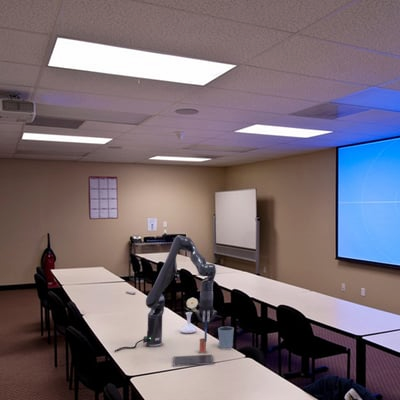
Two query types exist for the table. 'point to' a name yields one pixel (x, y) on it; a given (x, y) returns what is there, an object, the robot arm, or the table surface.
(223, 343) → the blue-grey tapered bin
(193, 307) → the flower in vase
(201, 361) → the tablet
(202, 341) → the pen pot
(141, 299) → the table surface
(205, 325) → the stylus
